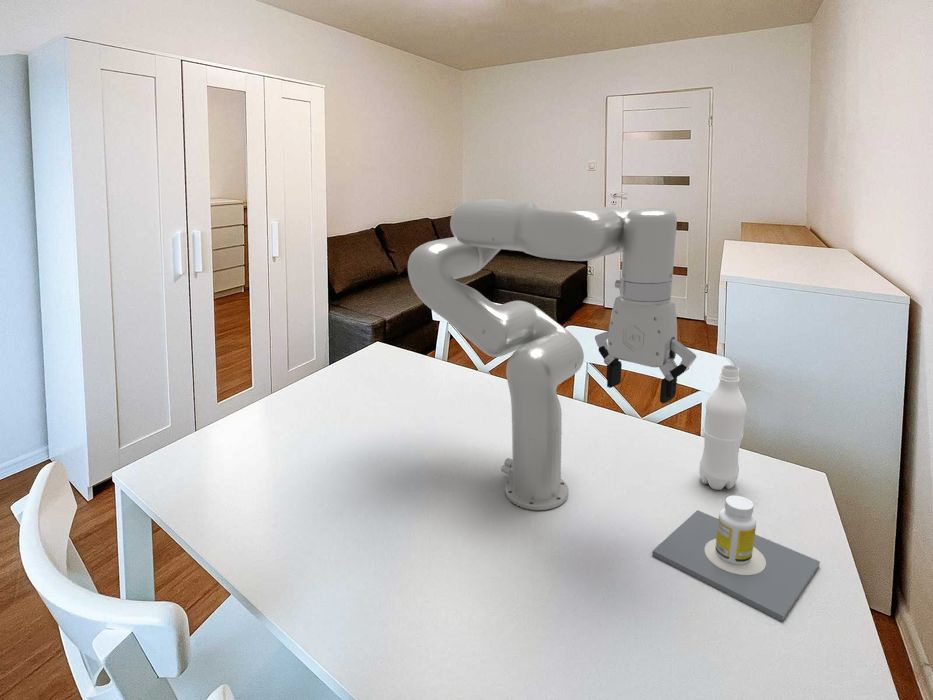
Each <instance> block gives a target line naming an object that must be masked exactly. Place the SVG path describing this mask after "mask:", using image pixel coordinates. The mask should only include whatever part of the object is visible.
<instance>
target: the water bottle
mask: <svg viewBox="0 0 933 700" xmlns="http://www.w3.org/2000/svg"><path fill="white" fill-rule="evenodd" d="M739 374H740V367H738V366H737V365H732V364H725V365H722V366H721V373H720V376H719V377H718V379H719V383H718V385H717V387H716V388H715V389H714V390H713V392H712V393H711V395H709V397H708V399H707V401H706V404H705V418H704V427H703V430H702V431H703V439H704V440H703V443H704V447H703V453H702V456H701V460H700V462H699V467H698V468H699V470H698V471H699V476H700V480H701V481H702V483H703V484H705V485H707V484H708V485H709V486H710V489H713V490H717V491H720V490H723V488H726V489H727V490H729V489H732V488H733V487H734V486H735V484H736V483H737V481H738V478H739V472H740V466H739V452H740V446H741V443H742V440H743V437H744V431H745V430H744V429H745V420H746V414H747V404H746V400H745V399H744V396H743V394H742V392H741V390H740V387H739V382H740V381H741V379H740V375H739Z"/></svg>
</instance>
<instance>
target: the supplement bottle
mask: <svg viewBox="0 0 933 700" xmlns="http://www.w3.org/2000/svg"><path fill="white" fill-rule="evenodd" d="M754 506H755V505H754V502H752V501H751V500H750V499H749V498H747V497H745V496H741V495H730V496H727V497H726V498H725V502H724V508H722V509H721V510H720V511H719V514H718V519H719V520H718V528H717V537H716V548H715V550H716V553H717V555H718V556H719V557H720V558H721V559H723V560H725V561H727V562H729V563H733V564H746V563H748V562H749V561H750V560H751V558H752V552H753V545H754V538H755V534H756V528H757V518H756V517H755V515H754V514H753V513H754Z"/></svg>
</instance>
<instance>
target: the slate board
mask: <svg viewBox="0 0 933 700" xmlns="http://www.w3.org/2000/svg"><path fill="white" fill-rule="evenodd" d="M718 520H719V518H717V517H715V516H714V515H713V516H712V515H710V514H708V513H705V512H703V511H700V510H698V509H697V510H696V511H695V512H693V514H691V515H690V516H689V517H688V518H687V519H685V521H684V522H682V523H681V524H680V525H679V526H678V527H677V528H676V529H675V530H674V531H672V532H671V533H670V534H669V535H668V536H667V537H666V538H665V539H663V541H662V542H660V543H659V544H658V545H657V546H655V547H654V548H653V550H652V554H651V556H653V557H654V558H656V559H658V560H660V561H662V562H664V563H666V564H668V565H669V566H672V567H673V568H676V569H678V570H680V571H682V572H684V573H686V574H687V575H689V576H691V577H694V578H696V579H698V580H700V581H701V582H703V583H704V584H707V585H709V586H711V587H713V588H715V589H717V590H719V591H720V592H723V593H724V594H727V595H729V596H730V597H733V598H735V599H736V600H738V601H741V602H742V603H745V604H746V605H749V606H750V607H752V608H754V609H756V610H758V611H760V612H762V613H763V614H766V615H768V616H769V617H772V618H774V619H775V620H778V621H779V622H781V623H783V622H784V620H785V618H786V617H787V616H788V614H789V613H790V611H791V610H792V609H793V607H794V605H795V604H796V602H797V601H798V600H799V597H800V596H801V595H802V594H803V592H804V590H805V589H806V587H807V586H808V584H809V583H810V581H811V580H812V578H813V576H815V574H816V572H817V571H818V570H819V568H820V566H821V561H820V560H818V559H815V558H813V557H810V556H808V555H806V554H803V553H801V552H798V551H796V550H793V549H791V548H788V547H786V546H784V545H781V544H779V543H777V542H774V541H773V540H770V539H768V538H765V537H763V536H761V535H758V534H756V533H755V538H754V545H753V552H752V558H751V560H750V561H749V562H748V563H746V564H733V563H729V562H727V561H725V560H723V559H721V558H720V557H719V556H718V555H717V553H716V550H715V548H716V537H717V528H718Z"/></svg>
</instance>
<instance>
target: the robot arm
mask: <svg viewBox="0 0 933 700" xmlns="http://www.w3.org/2000/svg"><path fill="white" fill-rule="evenodd" d="M677 221H678V218H677V215H676V213H675V212H674V211H673V210H671V209H667V208H639V209H633V208H631V209H630V208H625V207H621V206H604V207H596V208H588V209H583V210H562V209H561V210H557V209H551V210H550V209H541V208H538V207H537V205H535V203H533V202H530V201H519V200H518V201H516V200H515V201H508V200H506V199H503V198H499V197H494V198H493V197H492V198H491V197H490V198H482V199H481V198H480V199H473V200H468V201H465V202H463V203H461V204H459V205H458V206H457V207H456V208H454V210H453V212H452V214H451V217H450V222H449V224H450V225H449V227H450V231H451V233H452V235H453V237H446V238H440V239H435V240H432V241H431V240H430V241H428V242H425V243H423V244H421V245H419V246H418V247H416V248H415V249H414V250H413V251H412V252H411V253H410V255H409V258H408V261H407V274H408V279H409V282H410V285H411V287H412V289H413V291H414V294H416V295H417V298H418V299H420V301H421V302H422V303H423V304H424V305H425V306H427V307H428V308H429V309H430V310H431V311H433V312H435V314H437V315H439V316H440V317H441V318H443V319H444V320H446V321H447V322H448V323H449V324H450V325H451V326H453V328H455V330H457V331H458V332H459V333H461V334H462V335H463V336H464V337H465V338H466V339H467V340H469V341H470V342H471V343H472V344H474V346H476V347H477V348H478V349H479V350H480V351H481V352H483V353H484V354H486V356H489V357H492V358H498V357H502V356H503V357H504V356H506V355H508V354H510V353H512V354H511V356H510V357H509V359H508V361H507V363H506V368H505V369H506V371H505V374H506V382H507V385H508V389H509V395H510V406H511V423H512V424H511V432H512V433H511V436H512V437H511V438H512V443H511V445H512V446H511V448H512V449H511V450H512V458H510V457H507V458H505V460H504V464H503V465H502V466H501V467H500V471H501V472H502V473H504V474H507V475H508V481H507V482H506V484H505V488H504V489H505V490H504V491H505V496H506V498H507V499H508V500H509V501H510V502H511V501H512V502H513V503H514V504H513V503H512V502H511V503H512V504H513V505H515V504H516V505H515V506H517V507H519V506H520V507H519V508H522V509H525V510H531V511H544V510H545V511H546V510H551V509H554V508H557V507H559V506H561V505H562V504H564V502H566V501H567V500H568V496H569V487H568V485H567V483H566V481H564V480H563V479H562V478H561V477H562V475H561V474H562V434H563V433H562V432H563V431H562V425H563V424H562V414H563V413H562V406H561V403H560V400H559V397H558V393H557V388H558V386H559V385H560V384H562V383H563V382H565V381H567V380H568V379H570V378H571V377H573V376H574V375H575V374H576V373H577V372H579V371H580V370H581V368H582V366H583V364H584V359H585V355H584V350H583V347H582V345H581V343H580V342H579V340H578V338H577V337H575V336H574V334H572V332H570V331H569V330H568V329H566V328H565V327H564V326H562V325H561V324H560V323H558V321H555V319H553V318H552V317H551V316H550V315H548V314H546V312H544V311H543V310H541V309H540V308H539V307H537V306H536V305H534V304H532V303H531V302H530V303H529V302H528V301H524V300H513V301H508V302H506V303H503V304H496V303H494V302H492V301H491V300H489V298H486V297H485V296H484V295H483V294H482V293H481V292H480V291H478V290H477V289H475V288H473V287H471V286H469V285H467V284H464V283H461V282H459V281H457V280H458V279H461V278H465V277H469V276H472V275H474V274H476V273H478V272H479V271H481V270H482V269H483V268H484V267H486V265H487V264H488V263H489V262H490V261H491V260H492V259H493V258H494V257H495V256H496V255H497V254H498V253H499V252H500V251H501V250H508V251H518V252H523V253H525V254H528V255H531V256H534V257H537V258H542V259H544V258H545V259H551V260H561V261H570V262H571V261H574V262H586V261H592V260H595V259H598V258H601V257H604V256H609V255H610V256H611V255H613V254H616V253H622V259H621V278H620V279H616V280H615V282H614V288H616V289H619V294H620V295H619V296H617V297H615V300H614V303H613V306H612V310H611V315H610V320H609V326H608V330H606V331H604V332H601V333H599V334H596V335H595V336H594V341H595V343H596V346H597V347H598V352H599V354H600V355H601V357H602V358H603V362H604V364H605V365H606V377H605V378H606V380H607V381H606V387H607V388H609V389H611V388H613V387H616V386H618V385H619V384H621V381H622V366H623V364H622V361H624V362H629V363H633V364H637V365H641V366H645V367H650V368H658V369H659V370H660V372H661V373H662V376H664V378H661V382H660V391H659V393H660V394H659V402H660V403H662V404H666V403H667V402H670V401H671V400H673V398H675V397H676V394H677V393H676V392H677V382H678V377H680V376H681V375H683V374H684V373H686V372H687V371H688V370H689V369H690V367H692V364H693V363H694V362H695V360H696V358H697V355H696V353H694V352H693V351H692V350H690V349H689V348H688V347H686V346H685V345H683V343H681V342H680V341H678V320H677V311H676V304H675V300H673V299H672V289H673V276H674V275H673V274H674V261H675V250H676V249H675V248H676V239H677V238H676V235H677V226H678V225H677ZM676 356H679V357H680V358H681V361H680V363H679V365H678V364H677V363H676V362H675V361H676V360H675V359H676Z"/></svg>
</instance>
